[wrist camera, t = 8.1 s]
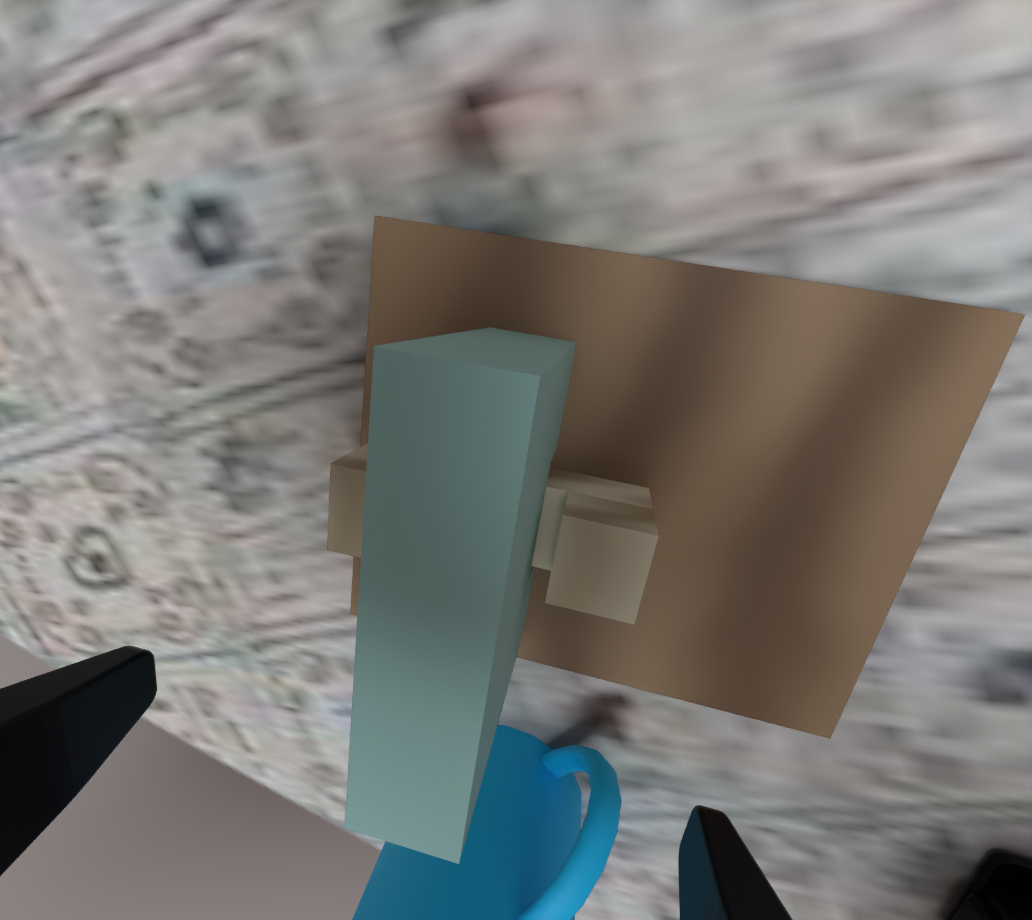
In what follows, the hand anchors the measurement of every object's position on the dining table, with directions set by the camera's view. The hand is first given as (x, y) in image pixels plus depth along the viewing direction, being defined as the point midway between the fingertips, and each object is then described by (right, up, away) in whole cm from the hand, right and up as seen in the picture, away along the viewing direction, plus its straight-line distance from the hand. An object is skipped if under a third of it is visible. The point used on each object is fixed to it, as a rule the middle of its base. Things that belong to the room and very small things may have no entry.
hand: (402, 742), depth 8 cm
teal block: (+1, +3, +11) cm, 12 cm away
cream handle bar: (+1, +3, +11) cm, 12 cm away
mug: (+2, -10, +16) cm, 19 cm away
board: (+6, +3, +11) cm, 13 cm away
